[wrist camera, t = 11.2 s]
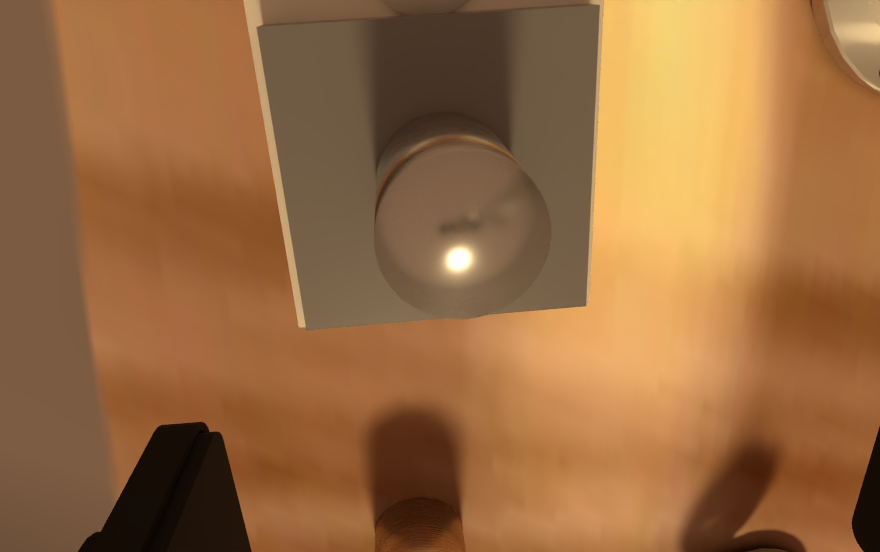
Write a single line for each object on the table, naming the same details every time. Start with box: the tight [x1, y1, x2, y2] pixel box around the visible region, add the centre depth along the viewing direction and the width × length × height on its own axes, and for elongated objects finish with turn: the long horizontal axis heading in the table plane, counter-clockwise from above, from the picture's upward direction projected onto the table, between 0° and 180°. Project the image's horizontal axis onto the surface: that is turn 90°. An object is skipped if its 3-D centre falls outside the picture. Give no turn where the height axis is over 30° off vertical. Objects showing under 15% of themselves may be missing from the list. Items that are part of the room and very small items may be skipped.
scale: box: [243, 0, 604, 330], centre depth 24 cm, size 12×16×4 cm
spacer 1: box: [374, 112, 551, 319], centre depth 20 cm, size 5×5×6 cm
